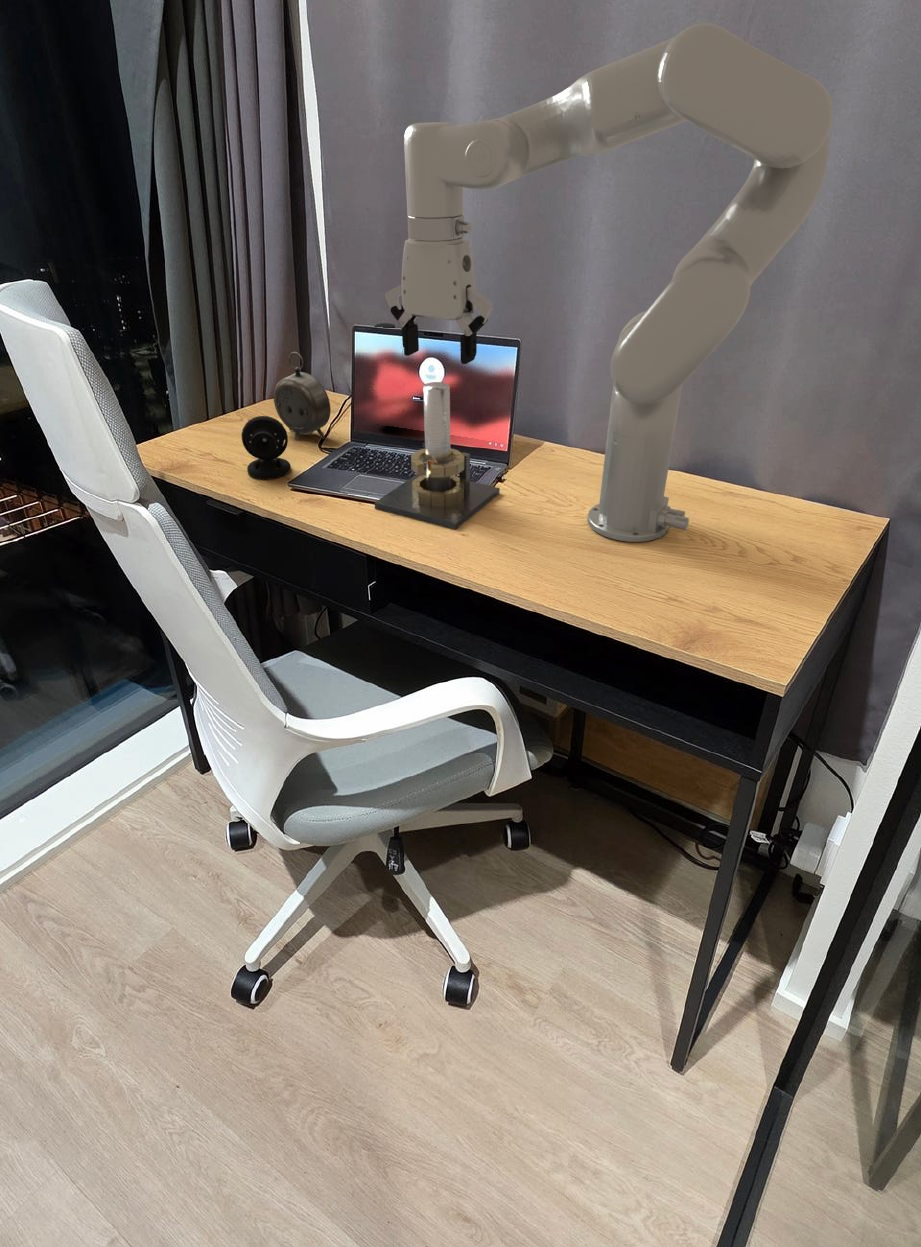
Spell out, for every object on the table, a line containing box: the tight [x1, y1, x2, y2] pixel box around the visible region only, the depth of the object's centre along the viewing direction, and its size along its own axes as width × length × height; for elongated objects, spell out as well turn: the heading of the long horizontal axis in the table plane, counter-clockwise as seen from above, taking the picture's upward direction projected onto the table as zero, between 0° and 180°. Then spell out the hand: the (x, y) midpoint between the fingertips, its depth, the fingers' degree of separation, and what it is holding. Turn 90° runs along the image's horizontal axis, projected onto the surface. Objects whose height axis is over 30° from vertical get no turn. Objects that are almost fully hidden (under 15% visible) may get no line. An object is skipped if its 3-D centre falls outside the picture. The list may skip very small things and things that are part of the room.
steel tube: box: [422, 381, 452, 492], centre depth 125 cm, size 4×4×18 cm
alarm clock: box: [273, 351, 332, 441], centre depth 149 cm, size 11×5×16 cm, turn 58°
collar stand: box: [374, 447, 501, 531], centre depth 128 cm, size 15×15×8 cm
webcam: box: [241, 415, 292, 480], centre depth 137 cm, size 8×8×10 cm
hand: (439, 357), depth 117 cm, fingers open, 9 cm apart
